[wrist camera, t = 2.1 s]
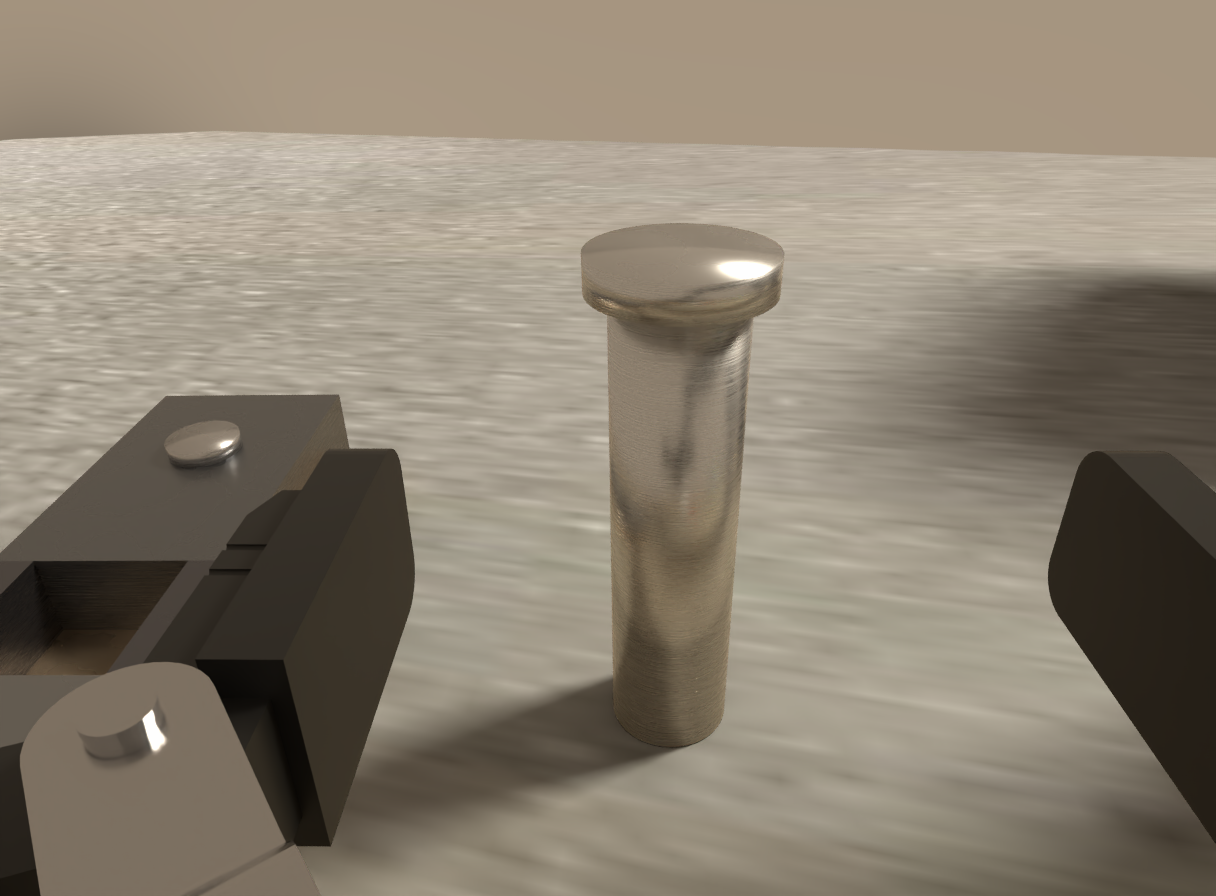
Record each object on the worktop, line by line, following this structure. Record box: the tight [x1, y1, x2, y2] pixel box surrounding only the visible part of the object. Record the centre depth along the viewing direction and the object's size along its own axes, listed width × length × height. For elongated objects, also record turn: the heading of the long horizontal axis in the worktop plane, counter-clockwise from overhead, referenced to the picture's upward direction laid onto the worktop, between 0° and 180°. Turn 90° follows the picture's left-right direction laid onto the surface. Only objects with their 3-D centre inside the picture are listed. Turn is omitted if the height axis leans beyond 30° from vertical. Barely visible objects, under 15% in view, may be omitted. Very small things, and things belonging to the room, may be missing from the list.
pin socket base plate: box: [0, 395, 349, 747], centre depth 27 cm, size 30×12×5 cm, turn 179°
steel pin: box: [581, 223, 784, 747], centre depth 24 cm, size 5×5×15 cm
